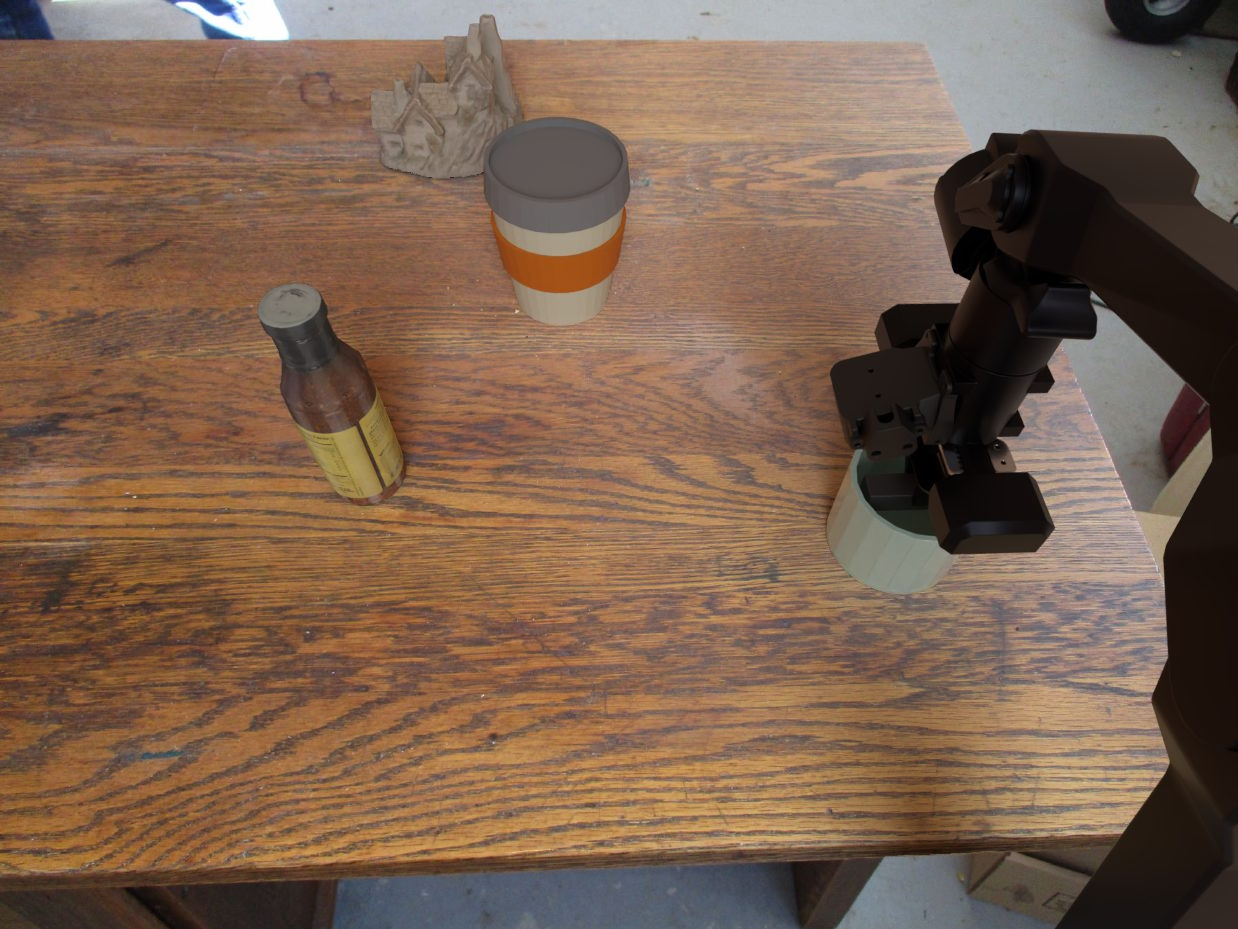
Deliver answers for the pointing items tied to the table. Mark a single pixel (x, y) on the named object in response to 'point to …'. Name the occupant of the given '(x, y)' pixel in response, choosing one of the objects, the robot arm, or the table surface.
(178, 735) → the table surface
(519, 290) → the reusable coffee cup
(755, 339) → the table surface
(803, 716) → the table surface
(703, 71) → the table surface
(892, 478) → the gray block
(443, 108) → the ceramic cottage
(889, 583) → the cup
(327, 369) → the sauce bottle
